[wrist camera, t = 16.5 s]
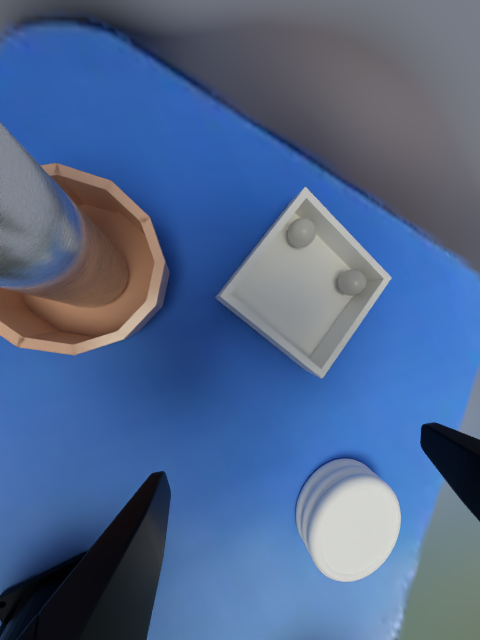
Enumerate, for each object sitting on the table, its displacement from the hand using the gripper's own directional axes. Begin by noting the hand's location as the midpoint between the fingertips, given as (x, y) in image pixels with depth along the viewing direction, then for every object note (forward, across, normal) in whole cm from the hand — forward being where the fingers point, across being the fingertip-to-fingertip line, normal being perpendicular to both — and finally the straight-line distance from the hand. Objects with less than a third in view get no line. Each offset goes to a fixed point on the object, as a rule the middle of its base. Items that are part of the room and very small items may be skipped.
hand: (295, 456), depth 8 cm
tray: (+15, -5, -3) cm, 16 cm away
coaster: (+12, -6, +19) cm, 24 cm away
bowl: (+12, +11, -8) cm, 18 cm away
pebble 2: (+15, -10, -3) cm, 18 cm away
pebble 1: (+15, -5, -8) cm, 18 cm away
